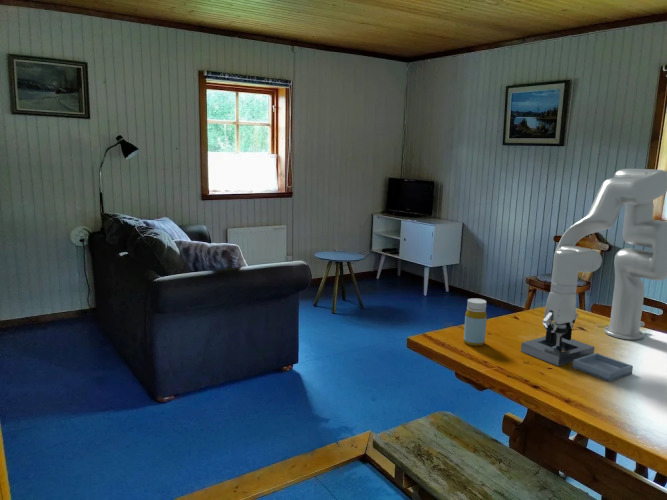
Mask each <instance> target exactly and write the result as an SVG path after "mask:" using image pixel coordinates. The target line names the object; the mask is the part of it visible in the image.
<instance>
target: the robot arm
mask: <svg viewBox="0 0 667 500" xmlns="http://www.w3.org/2000/svg"><path fill="white" fill-rule="evenodd" d="M666 193H667V171H666V170H663V169H653V168H651V169H648V168H646V169H645V168H621V169H619V170H617V171H615V172H614V174H613V177H611V178H607V179H605V180H604V181H603V182H602V183H601V186H600V187H599V189H598V191H597V193H596V194H595V195H596V196H595V198H594V200H593V201H592V204H591V207H590V208H589V209H588V212H587V214H586V215H585V216H584V217H582V218H581V219H579V220H578V221H577V222H575V223H573V224H572V225H571V226H570V227H568V228H567V229H566V230H565V232H564V233H563V234H562V236H561V237H560V240H559V242H558V243H557V245H556V248H555V251H554V254H553V263H552V272H551V283H550V291H549V292H548V296H547V299H546V303H545V308H544V317H543V320H542V324H543V327H544V330H545V331H546V332H545V337H546V340H545V341H546V342H547V343H550V344H553V345H554V344H555V340H556V332H555V330H556V328H557V326H558V325H559V324H564V323H565V324H566V326H568V327H569V329H568V332H567V333H565V334H562V338H564V339H567V340H571V339H572V334H573V332H572V331H573V328H574V323H576V319H577V318H578V315H579V314H578V312H577V291H578V290H577V288H578V279H579V278H578V277H579V273H593V272H596V271H597V270H598V269H599V268H601V265H602V262H603V258H602V255H601V253H600V252H598V251H597V250H595V249H592V248H586V247H581V246H576V244H577V243H578V242H579V241H580V240H582V239H583V238H584V237H586V236H589V235H591V234H595V233H599V232H603V231H605V230H609V229H611V228H612V227H614V225H615V223H616V221H617V218H618V216H619V214H620V212H621V210H622V209H623V206H624V205H625V207H624V219H623V226H622V240H623V242H625V243H626V244H629V245H633V246H638V247H643V248H650V249H652V251H650V250H645V249H638V248H632V247H625V248H621V249H619V250H618V251H617V252H616V254H615V256H614V259H613V264H614V286H613V287H614V288H613V295H612V304H611V310H610V311H611V312H610V319H609V325H607V326H605V327H604V330H603V331H604V333H605V334H607V335H609V336H611V337H614V338H617V339H621V340H630V341H637V340H642V339H643V338H644V336H645V334H644V332H642V331H641V330H640V329H641V328H642V327H645V325H646V324H645V322H644V321H641V319H642V313H643V306H644V298H645V291H646V290H645V289H646V288H645V284H644V282H643V279H647V280H652V281H657V282H659V281H660V282H661V281H665V280H666V279H667V221H665V220H658V219H654V208H655V207H654V202H653V201H655V200H656V199H658V198H660V197H662V196H663V195H665V194H666ZM553 321H554V322H553ZM552 324H553V325H554V326H553V328H552V326H551V325H552Z"/></svg>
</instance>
